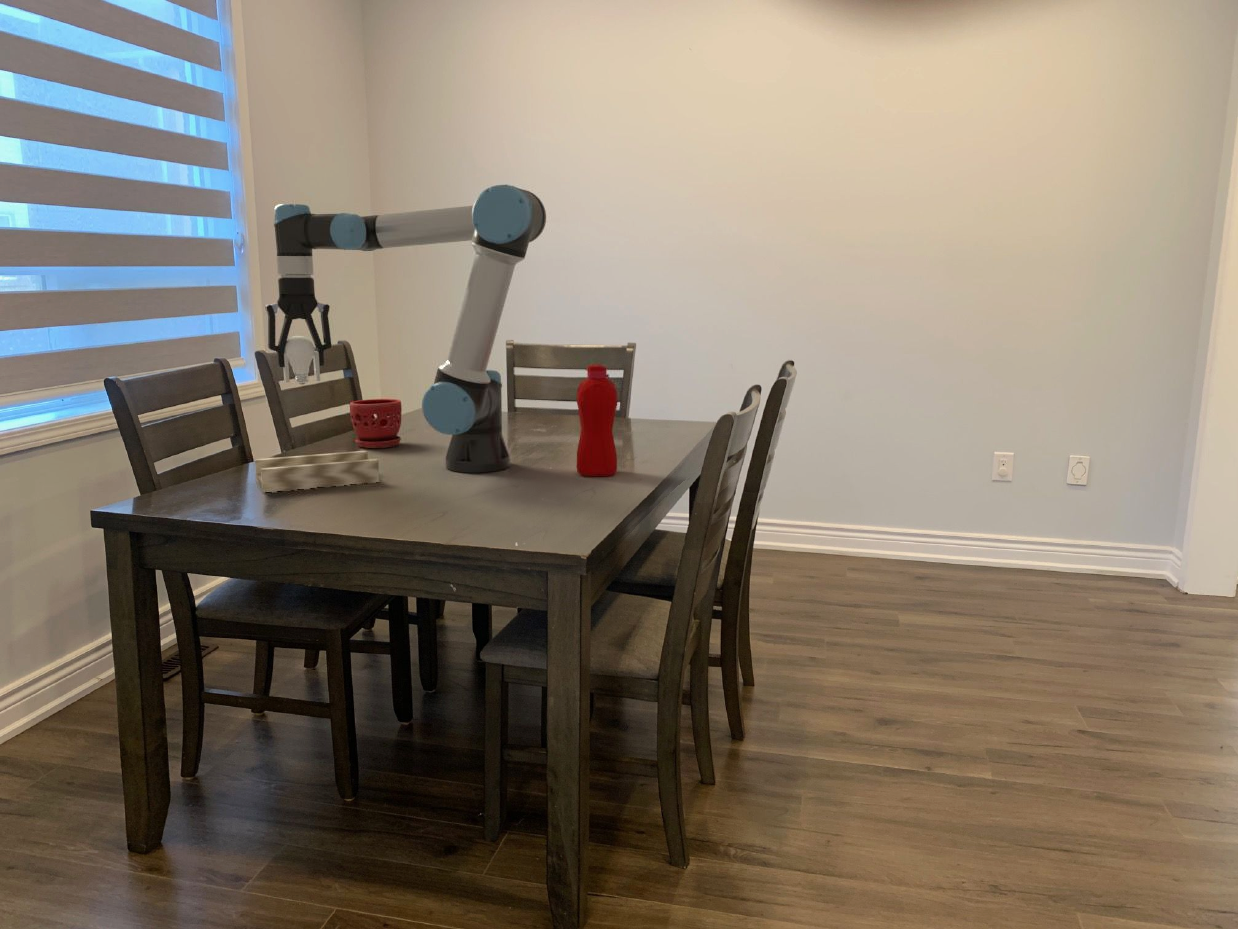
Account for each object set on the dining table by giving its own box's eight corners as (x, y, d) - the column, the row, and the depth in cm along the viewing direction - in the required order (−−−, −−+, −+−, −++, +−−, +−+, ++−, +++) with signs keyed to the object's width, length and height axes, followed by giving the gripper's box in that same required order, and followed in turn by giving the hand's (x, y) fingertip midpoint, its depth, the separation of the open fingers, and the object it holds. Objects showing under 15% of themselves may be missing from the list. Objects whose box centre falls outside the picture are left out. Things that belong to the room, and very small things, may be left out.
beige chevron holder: (366, 471, 218) (365, 450, 217) (379, 482, 208) (378, 460, 207) (256, 481, 207) (254, 459, 206) (263, 493, 197) (261, 469, 196)
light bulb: (281, 385, 214) (276, 336, 212) (308, 381, 219) (303, 333, 217) (296, 387, 210) (291, 337, 208) (323, 383, 215) (318, 334, 212)
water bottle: (625, 477, 215) (626, 366, 210) (577, 477, 214) (577, 366, 209) (622, 469, 224) (623, 362, 219) (576, 469, 223) (576, 362, 218)
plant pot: (410, 442, 256) (408, 398, 253) (390, 451, 243) (388, 404, 241) (365, 440, 258) (362, 396, 255) (343, 449, 245) (340, 403, 243)
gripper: (336, 276, 217) (341, 377, 222) (248, 276, 209) (255, 381, 213) (343, 276, 211) (348, 380, 215) (252, 276, 202) (260, 384, 207)
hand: (302, 380), depth 214 cm, fingers closed on light bulb, 6 cm apart
